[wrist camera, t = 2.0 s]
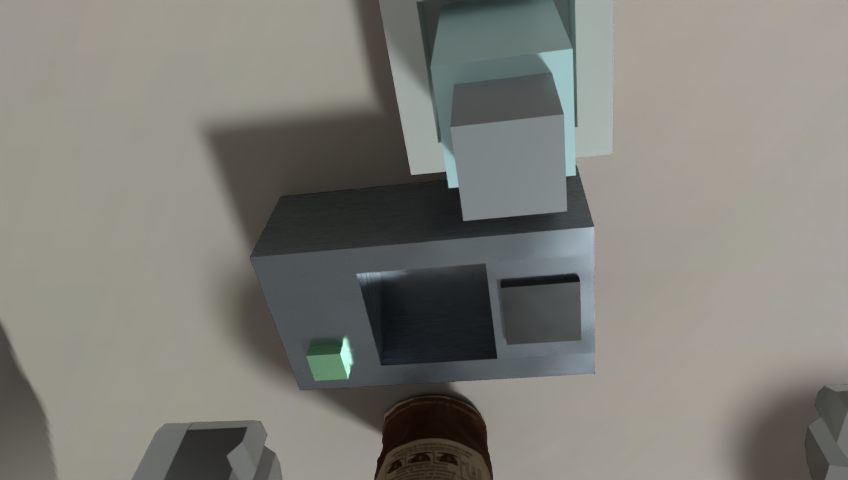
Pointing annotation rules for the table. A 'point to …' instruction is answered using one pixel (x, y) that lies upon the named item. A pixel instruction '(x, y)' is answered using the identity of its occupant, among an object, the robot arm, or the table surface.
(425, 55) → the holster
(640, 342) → the table surface
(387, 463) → the coffee cup
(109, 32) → the table surface
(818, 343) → the table surface
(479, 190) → the plug
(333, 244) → the grey block with recess
